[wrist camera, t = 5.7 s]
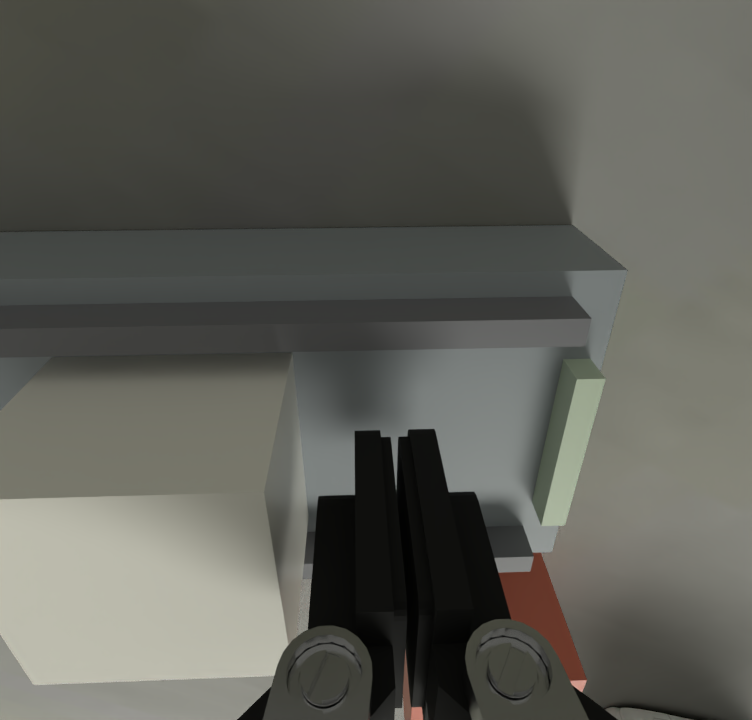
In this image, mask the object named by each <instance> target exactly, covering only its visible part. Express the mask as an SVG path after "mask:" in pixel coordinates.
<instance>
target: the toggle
mask: <svg viewBox="0 0 752 720" xmlns="http://www.w3.org/2000/svg"><path fill="white" fill-rule="evenodd" d="M307 527H308V506H307V496H306V486H305V476H304V466H303V456H302V446H301V436H300V426H299V416H298V406H297V396H296V386H295V376H294V366H293V356H292V353H247V354H195V355H143V356H91V357H52V358H51V359H50V360H49V361H48V362H47V363H46V364H45V365H44V366H43V367H42V368H41V369H40V370H39V371H38V372H37V373H36V374H35V375H34V376H33V378H32V379H31V380H30V381H29V382H28V383H27V384H26V385H25V386H24V387H23V388H22V389H21V390H20V391H19V392H18V393H17V394H16V395H15V396H14V397H13V398H12V399H11V400H10V401H9V402H8V403H7V404H6V405H5V406H4V407H3V408H2V410H1V411H0V635H1V636H2V638H3V639H4V641H5V642H6V644H7V645H8V647H9V648H10V650H11V652H12V653H13V655H14V656H15V658H16V659H17V661H18V662H19V664H20V665H21V667H22V668H23V670H24V671H25V673H26V674H27V676H28V677H29V679H30V680H31V682H32V683H33V685H48V684H74V683H101V682H127V681H153V680H179V679H205V678H231V677H257V676H274V675H275V672H276V668H277V665H278V663H279V660H280V658H281V655H282V653H283V651H284V650H285V649H286V648H287V646H288V645H289V644H290V643H291V641H292V640H293V639H294V638H296V637H297V630H298V620H299V609H300V599H301V589H302V578H303V568H304V558H305V547H306V537H307Z"/></svg>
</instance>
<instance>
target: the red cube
mask: <svg viewBox="0 0 752 720" xmlns="http://www.w3.org/2000/svg"><path fill="white" fill-rule="evenodd" d="M533 555H534V558H533V563H532V567H531V571H530V572H502V573H499V576H500V580H501V584H502V587H503V591H504V594H505V598H506V602H507V605H508V609H509V612H510V616H511V620H515V621H518V622H522V623H524V624H526V625H528V626H530V627H532V628H533V629H535V630H537V631H538V632H539V633H540V634H541V635H542V636H543V637H544V638H545V639H547V640H548V641H549V643H550V644H551V646H552V647H553V649H554V650H555V652H556V653H557V655H558V657H559V659H560V661H561V663H562V665H563V667H564V669H565V671H566V673H567V676H568V678H569V680H570V682H571V684H572V685H573V686H574V687H575V688H577V689H578V690H579V691H581V692H582V691H583V689H584V686H585V684H586V681H587V679H586V676H585V673H584V671H583V668H582V665H581V662H580V660H579V657H578V654H577V651H576V649H575V646H574V643H573V640H572V638H571V635H570V632H569V629H568V627H567V624H566V621H565V618H564V616H563V613H562V610H561V607H560V605H559V602H558V599H557V596H556V594H555V591H554V588H553V585H552V583H551V580H550V577H549V574H548V572H547V569H546V566H545V563H544V561H543V558H542V555H541V553H533ZM403 704H404V718H405V720H423V713H422V707H411V703H410V694H409V683H408V672H407V660H406V649H405V665H404V681H403Z"/></svg>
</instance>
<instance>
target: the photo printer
mask: <svg viewBox="0 0 752 720" xmlns="http://www.w3.org/2000/svg"><path fill="white" fill-rule="evenodd" d="M605 710H606V711H607V712H609V713H610V714H611V715H612V716H614V717H615V718H616V719H618V720H692V719H687V718H682V717H677V716H673V715H668V714H665V713H660V712H654V711H649V710H643V709H635V708H616V707H610V708H606V709H605Z"/></svg>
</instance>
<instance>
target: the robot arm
mask: <svg viewBox="0 0 752 720" xmlns="http://www.w3.org/2000/svg"><path fill="white" fill-rule="evenodd" d="M405 649H406V660H407V672H408V683H409V694H410V703H411V707H422V713H423V720H618V719H616V718H615V717H614V716H612V715H611V714H610V713H609V712H607V711H606V710H605V709H603V708H602V707H601V706H599V705H598V704H597V703H595V702H594V701H593V700H591V699H590V698H589V697H587V696H586V695H585V694H583V693H582V692H581V691H579V690H578V689H577V688H575V687H574V686H573V685H572V684H571V682H570V680H569V678H568V676H567V673H566V671H565V669H564V667H563V665H562V663H561V661H560V659H559V657H558V655H557V653H556V652H555V650H554V649H553V647H552V646H551V644H550V643H549V641H548V640H547V639H545V638H544V637H543V636H542V635H541V634H540V633H539V632H538V631H537V630H535V629H533V628H532V627H530V626H528V625H526V624H524V623H522V622H518V621H515V620H511V616H510V612H509V609H508V605H507V602H506V598H505V594H504V591H503V587H502V584H501V580H500V576H499V573H498V569H497V566H496V562H495V559H494V555H493V551H492V548H491V544H490V541H489V537H488V533H487V530H486V526H485V523H484V519H483V515H482V512H481V508H480V505H479V501H478V498H477V495H476V494H475V492H449V491H448V487H447V482H446V477H445V473H444V468H443V464H442V459H441V454H440V450H439V445H438V440H437V436H436V432H435V429H409V430H408V435H407V436H404V437H398V456H397V486H396V484H395V474H394V464H393V454H392V444H391V437H381V433H380V430H364V431H355V495H331V496H318V503H317V515H316V529H315V542H314V556H313V569H312V583H311V596H310V609H309V623H308V630H306V631H304V632H303V633H301V634H300V635H299V636H297V637H296V638H294V639H293V640H292V641H291V643H290V644H289V645H288V646H287V648H286V649H285V650H284V651H283V653H282V655H281V658H280V660H279V663H278V665H277V668H276V672H275V675H274V679H273V683H272V687H270V688H269V689H268V690H267V691H266V692H265V693H264V694H263V695H262V696H261V697H260V698H259V699H258V700H257V701H256V702H255V703H254V704H253V705H252V706H251V707H250V708H249V709H248V710H247V711H246V712H245V713H244V714H243V715H242V716H241V717H240V718H239V719H237V720H394V712H395V708H402V698H403V681H404V665H405Z"/></svg>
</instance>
